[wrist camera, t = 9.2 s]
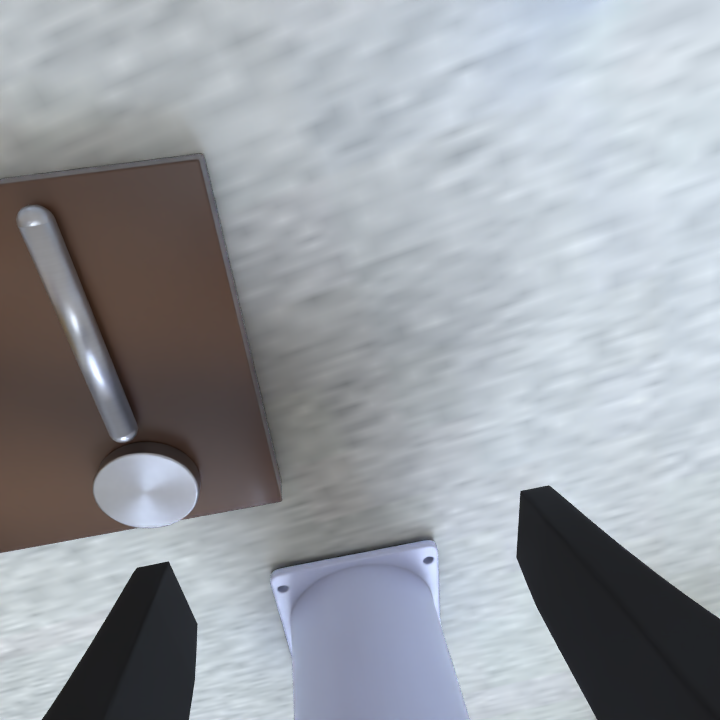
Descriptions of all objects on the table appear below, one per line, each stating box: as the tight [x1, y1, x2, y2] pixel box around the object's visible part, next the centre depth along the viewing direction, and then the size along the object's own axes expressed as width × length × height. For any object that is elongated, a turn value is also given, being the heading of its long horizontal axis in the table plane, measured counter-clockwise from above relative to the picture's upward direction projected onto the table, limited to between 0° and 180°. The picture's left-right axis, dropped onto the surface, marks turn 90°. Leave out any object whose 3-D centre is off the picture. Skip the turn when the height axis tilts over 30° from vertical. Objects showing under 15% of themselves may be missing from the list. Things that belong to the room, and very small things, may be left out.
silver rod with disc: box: [16, 205, 201, 528], centre depth 16 cm, size 12×4×1 cm, turn 6°
